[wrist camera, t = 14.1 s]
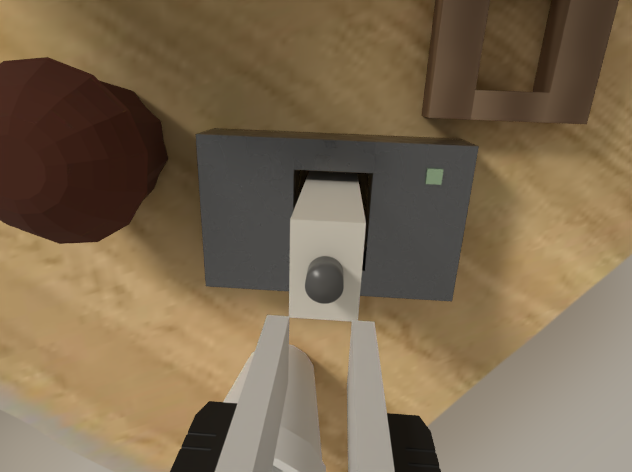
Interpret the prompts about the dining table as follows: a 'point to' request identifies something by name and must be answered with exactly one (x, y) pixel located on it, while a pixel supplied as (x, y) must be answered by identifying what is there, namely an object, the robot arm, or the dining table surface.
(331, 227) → the plug
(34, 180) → the muffin
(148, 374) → the dining table surface
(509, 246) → the dining table surface
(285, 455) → the foam cup
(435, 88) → the brown wooden square frame
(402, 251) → the switch box
